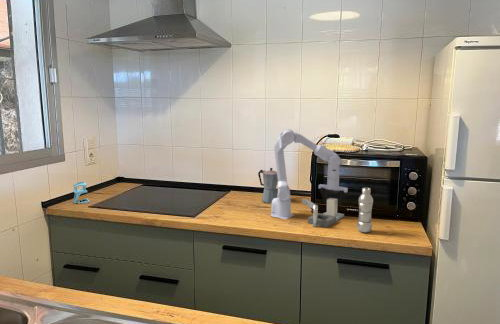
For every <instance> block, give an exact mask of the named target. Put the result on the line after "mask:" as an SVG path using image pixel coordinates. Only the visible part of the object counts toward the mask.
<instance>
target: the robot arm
mask: <svg viewBox="0 0 500 324" xmlns="http://www.w3.org/2000/svg"><path fill="white" fill-rule="evenodd" d="M293 142H294V144H302V145H303V146H305V147H307V148H308V149H310V150H311V151H313V152H314V153H313V154H314V155H315V156H317V157H318V158H319V159H321V160H322V161H324V162H327V175H326V177H327V180H326V181H327V182H326V184H321V183H320V184H318V189H319V193H320V195H321V197H322V201H323V202H322V203H323V204H325V205H326V204H327V199H328V192H329V191H336V192H337V199H338V203H337V207H340V206H342V203H343V200H344V197H345V195H346V193H348V190H349V189H348V187H345V186H339V185H340V164H341V163H342V160H341V157H340V156H339V155H338V154H337V153H336V152H335V151H334V150H331V149H329V148H327V147H326V145H325V144H323V145H322V144H316V143H314V142H313V141H311V140H310V139H308V138H307V137H305V136H304V135H303V134H301V133H299V132H297V131H293V130H292V129H290V128H287V129H284V130H283V131H282V132H281V133H280V134H279V136H278V138H277V140H276V142H275V144H274V146H273V150H274V159H275V166H276V167H275V168H276V172H277V177H278V183H277V198H274V199H273V200H272V203H270V204H271V212H270V213H271V214H270V217H272V218H273V217H274V218H277V219H278V218H279V219H282V220H283V219H284V220H288V219H290V218H292V217H294V216H295V214H293V213H291V211H292V210H291V209H292V208H291V207H292V198H291V188H290V187H289V184H288V180H287V179H288V178H287V169H286V160H285V152H284V150H285V149H286V148H287V146H289V145H290V144H292V143H293Z"/></svg>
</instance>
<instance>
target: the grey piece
mask: <svg viewBox="0 0 500 324" xmlns="http://www.w3.org/2000/svg"><path fill="white" fill-rule="evenodd" d="M301 200H302V201H301V203H302V204H304V205H305V206H307V207H309V208H310V209H312V211H313V212H312V213H313V214H312V215H313V225H312V228H318V226H317V218H318V213H319V211H318V210H319V205H318V204H316V203H314V202H312V201H310V200H308V199H307V198H302V199H301Z"/></svg>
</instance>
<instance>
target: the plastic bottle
mask: <svg viewBox="0 0 500 324" xmlns="http://www.w3.org/2000/svg"><path fill="white" fill-rule="evenodd" d="M371 192H372V191H371V187H362V188H361V194H360V196H359V197H358V219H357V223H356V227H357V228H356V229H357V231H359V232H361V233H370V232H371V231H372V229H373V224H372V209H373V204H374V198H373V196H372V195H371Z"/></svg>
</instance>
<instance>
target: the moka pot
mask: <svg viewBox="0 0 500 324" xmlns="http://www.w3.org/2000/svg"><path fill="white" fill-rule="evenodd" d="M261 174H262V176H261ZM257 175H258V179H259V182H260V186H263V187H264V189H263V193H262V199H261V201H262V202H263V203H265V204H272V200H273V199H274V198H277V197H278V195H277V194H278V177H277V170H273V167H270V168H269V170H263V169H260V170H259V172H258V173H257ZM262 178H263V181H262Z"/></svg>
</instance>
